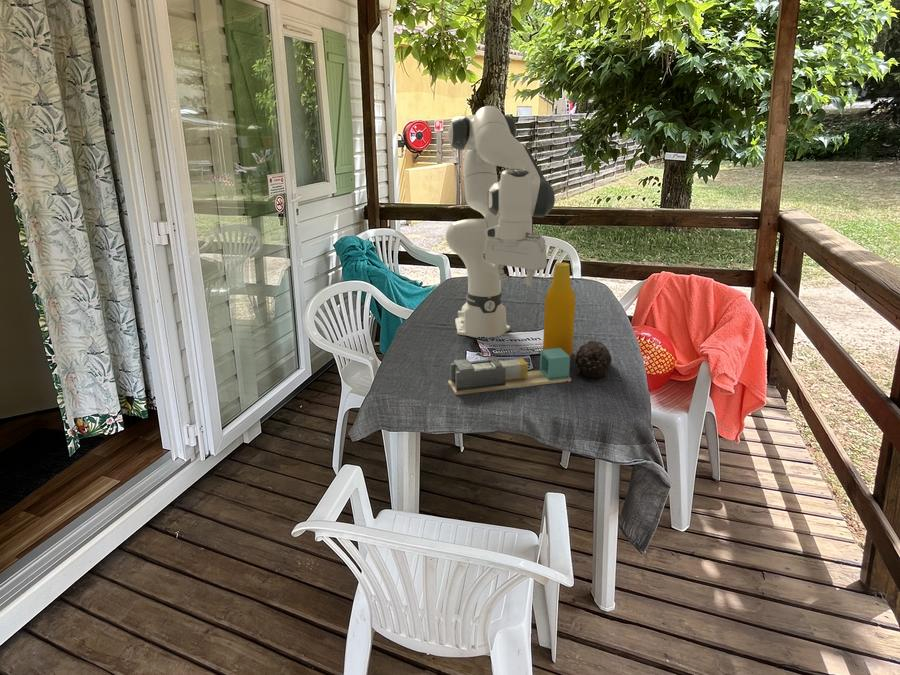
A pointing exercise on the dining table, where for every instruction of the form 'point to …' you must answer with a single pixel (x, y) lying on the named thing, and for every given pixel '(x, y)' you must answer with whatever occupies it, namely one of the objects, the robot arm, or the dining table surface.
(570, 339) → the beer bottle
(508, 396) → the dining table surface
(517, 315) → the dining table surface
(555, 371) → the teal cube
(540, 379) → the board
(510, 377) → the slip tube
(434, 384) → the dining table surface
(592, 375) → the pine cone
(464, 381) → the sleeve
